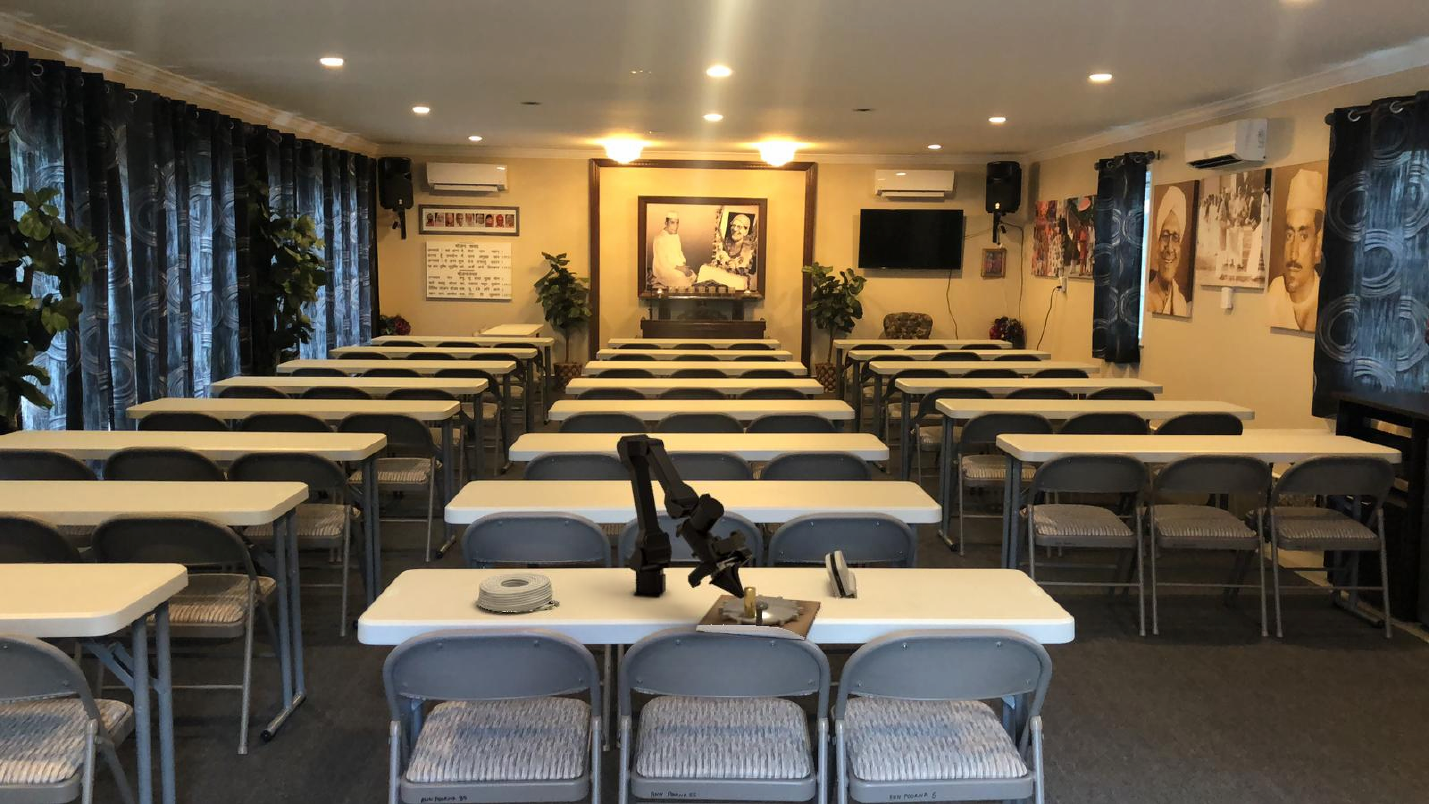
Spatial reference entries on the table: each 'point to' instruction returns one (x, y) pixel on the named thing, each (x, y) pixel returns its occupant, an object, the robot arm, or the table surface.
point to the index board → (795, 626)
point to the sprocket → (772, 609)
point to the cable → (516, 592)
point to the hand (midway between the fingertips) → (743, 597)
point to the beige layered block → (840, 575)
